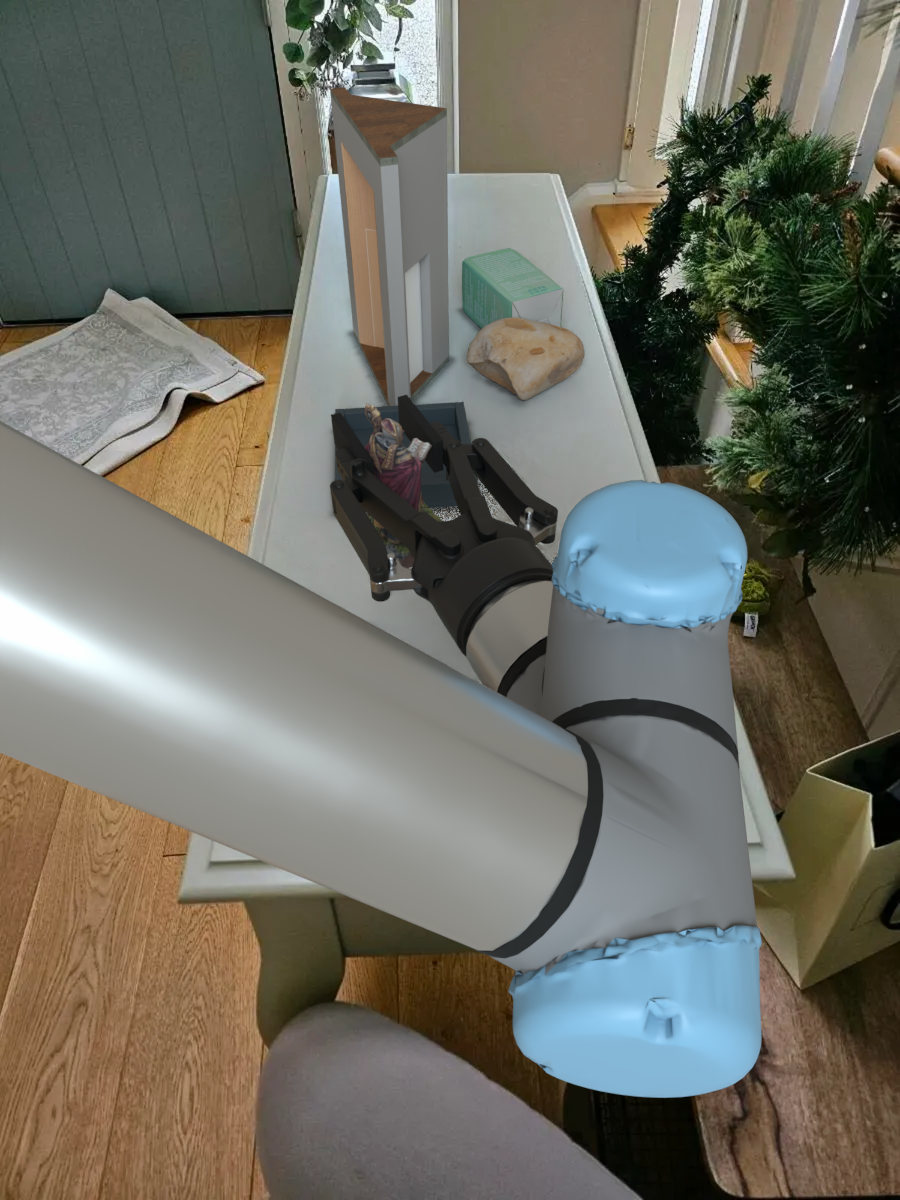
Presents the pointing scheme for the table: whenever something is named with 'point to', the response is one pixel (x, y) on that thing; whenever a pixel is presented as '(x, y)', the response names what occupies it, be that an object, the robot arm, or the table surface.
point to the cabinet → (395, 235)
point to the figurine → (397, 473)
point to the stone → (525, 354)
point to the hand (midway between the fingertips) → (370, 420)
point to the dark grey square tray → (447, 414)
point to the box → (508, 289)
